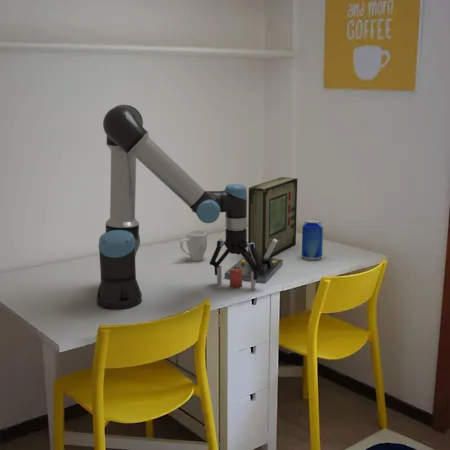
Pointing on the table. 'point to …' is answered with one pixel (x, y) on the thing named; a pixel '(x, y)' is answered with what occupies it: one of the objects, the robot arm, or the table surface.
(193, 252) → the mug
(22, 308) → the table surface
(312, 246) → the beer can
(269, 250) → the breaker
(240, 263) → the panel
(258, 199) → the control panel
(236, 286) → the red rounded cylinder
